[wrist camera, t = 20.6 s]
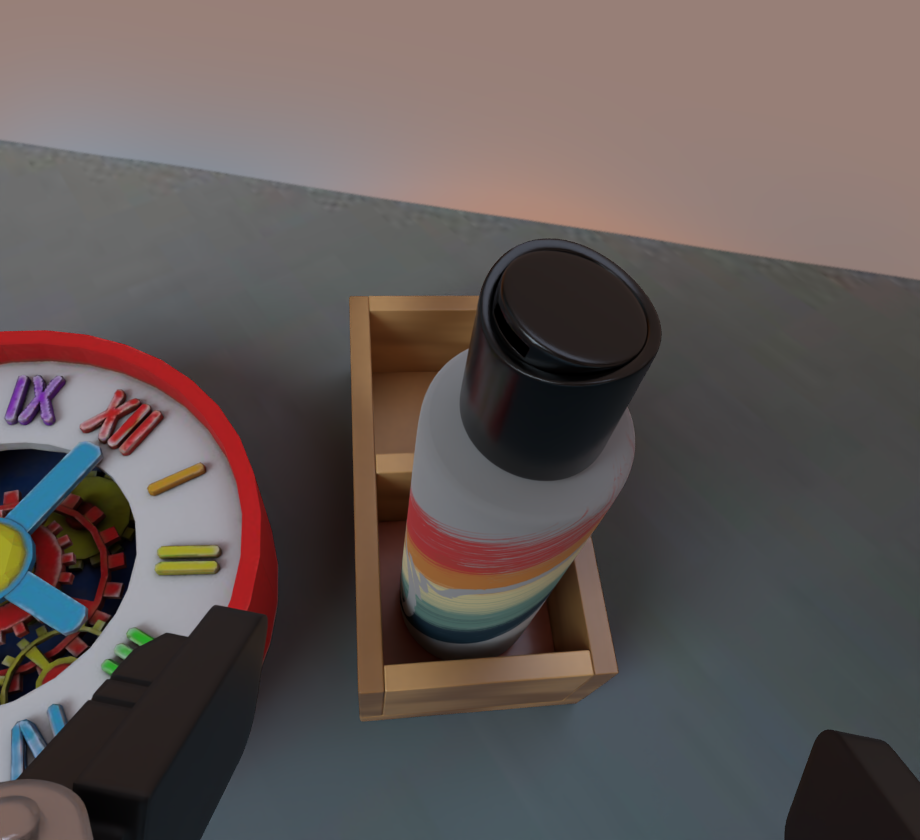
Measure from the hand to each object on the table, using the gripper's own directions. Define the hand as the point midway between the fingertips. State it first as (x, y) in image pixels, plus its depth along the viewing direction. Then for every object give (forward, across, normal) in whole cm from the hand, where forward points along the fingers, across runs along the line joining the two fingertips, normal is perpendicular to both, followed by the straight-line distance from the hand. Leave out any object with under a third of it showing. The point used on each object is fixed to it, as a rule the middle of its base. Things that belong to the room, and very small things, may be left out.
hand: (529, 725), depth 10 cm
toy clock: (+18, +18, +12) cm, 28 cm away
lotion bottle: (+20, 0, +8) cm, 21 cm away
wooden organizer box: (+23, +1, +6) cm, 24 cm away
